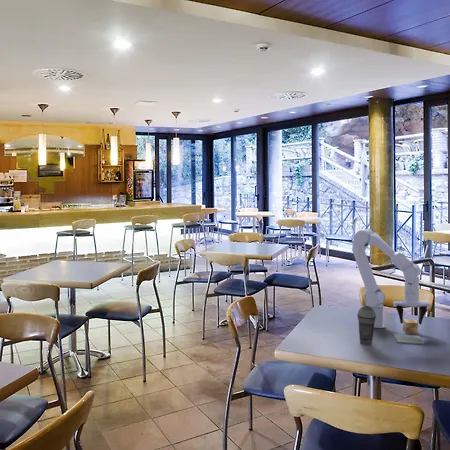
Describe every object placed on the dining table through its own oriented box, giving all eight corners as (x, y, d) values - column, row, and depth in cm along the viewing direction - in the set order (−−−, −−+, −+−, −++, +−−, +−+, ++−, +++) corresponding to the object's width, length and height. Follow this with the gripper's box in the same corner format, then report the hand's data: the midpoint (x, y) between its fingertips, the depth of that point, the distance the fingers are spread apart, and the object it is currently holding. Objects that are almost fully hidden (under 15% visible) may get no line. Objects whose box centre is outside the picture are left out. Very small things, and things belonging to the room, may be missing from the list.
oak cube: (405, 333, 202) (405, 322, 202) (403, 330, 207) (403, 319, 206) (417, 334, 201) (418, 322, 201) (414, 330, 206) (415, 319, 206)
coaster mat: (398, 343, 190) (398, 341, 190) (393, 335, 199) (393, 333, 199) (424, 344, 188) (424, 343, 188) (418, 336, 198) (418, 335, 198)
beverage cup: (365, 348, 184) (366, 298, 182) (352, 342, 190) (353, 294, 189) (379, 345, 187) (380, 296, 186) (366, 339, 194) (367, 292, 192)
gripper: (395, 294, 200) (395, 325, 201) (431, 295, 197) (430, 326, 198) (392, 290, 207) (392, 320, 208) (427, 291, 204) (426, 321, 205)
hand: (410, 323), depth 204 cm, fingers open, 7 cm apart
